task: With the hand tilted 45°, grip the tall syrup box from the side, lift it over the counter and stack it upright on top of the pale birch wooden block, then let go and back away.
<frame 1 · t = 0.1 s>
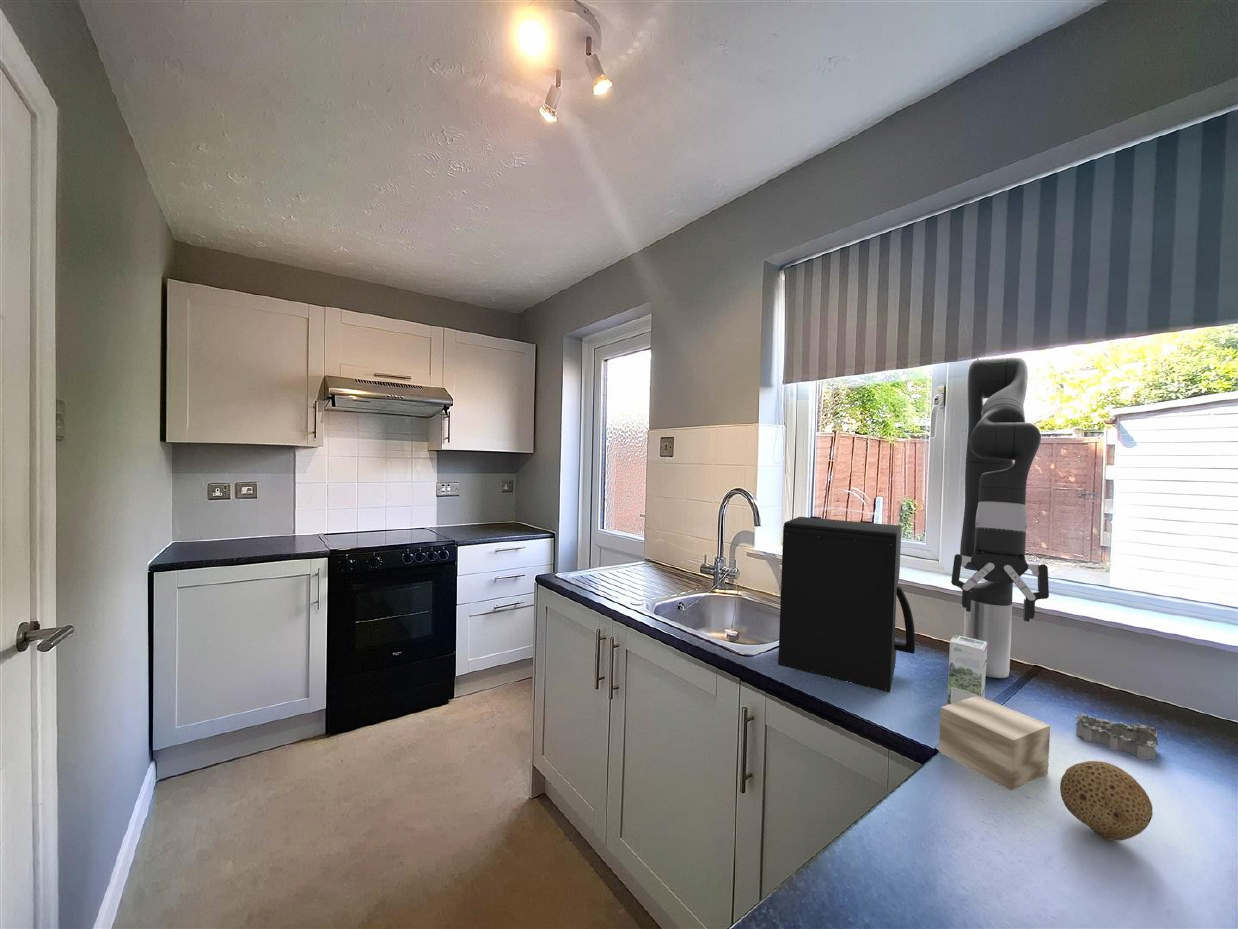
hand: (996, 615, 92), 22 cm above the worktop, tool pointing down, fingers open, 8 cm apart
syrup box: (965, 712, 101), on the worktop
egg carton: (1114, 745, 91), on the worktop
coffee maker: (846, 667, 122), on the worktop
wooden block: (991, 762, 84), on the worktop
natural sponge: (1101, 838, 68), on the worktop
cracker box: (850, 631, 147), on the worktop
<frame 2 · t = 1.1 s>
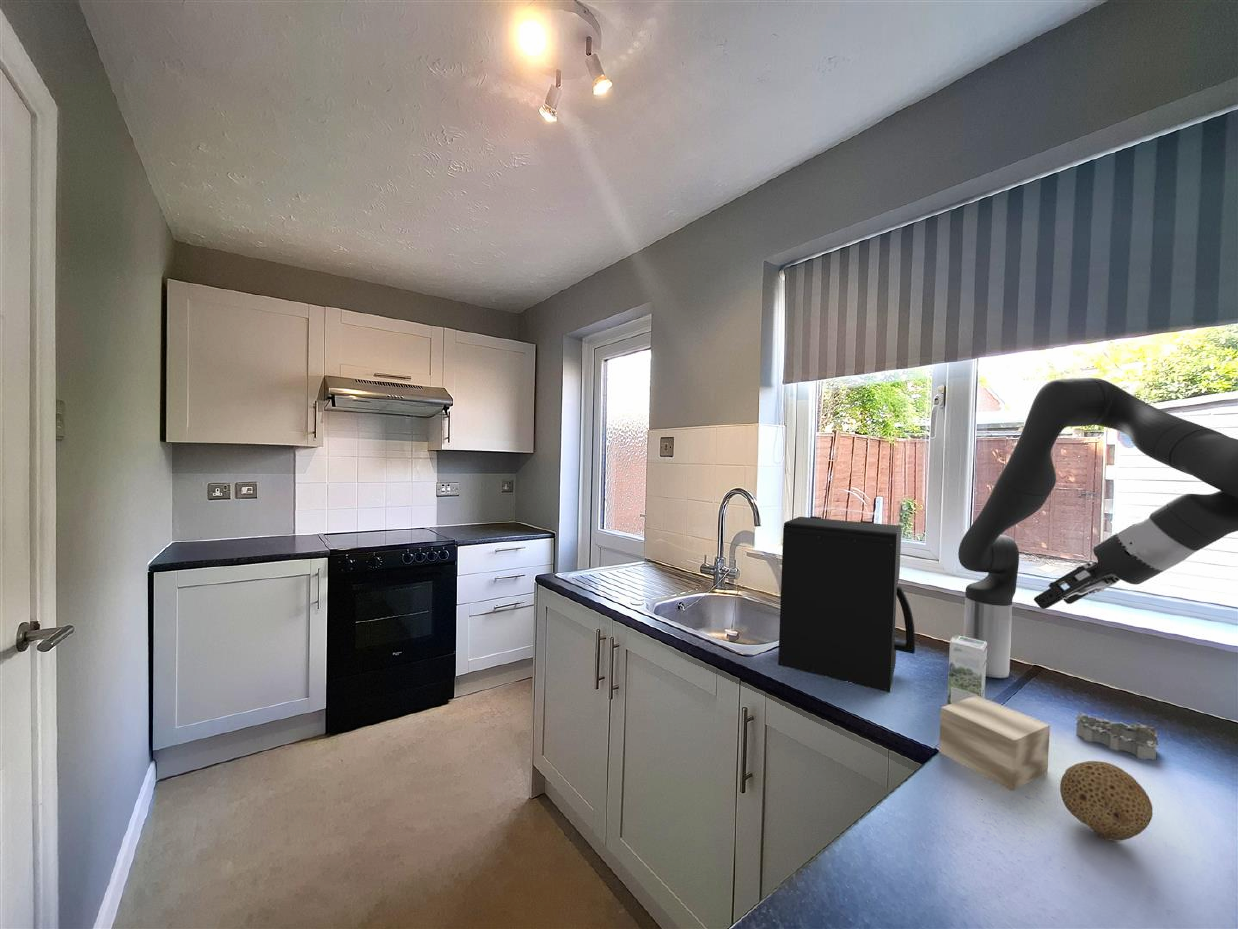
hand: (1051, 601, 89), 26 cm above the worktop, tool tilted 45°, fingers open, 8 cm apart
nothing on the worktop moved.
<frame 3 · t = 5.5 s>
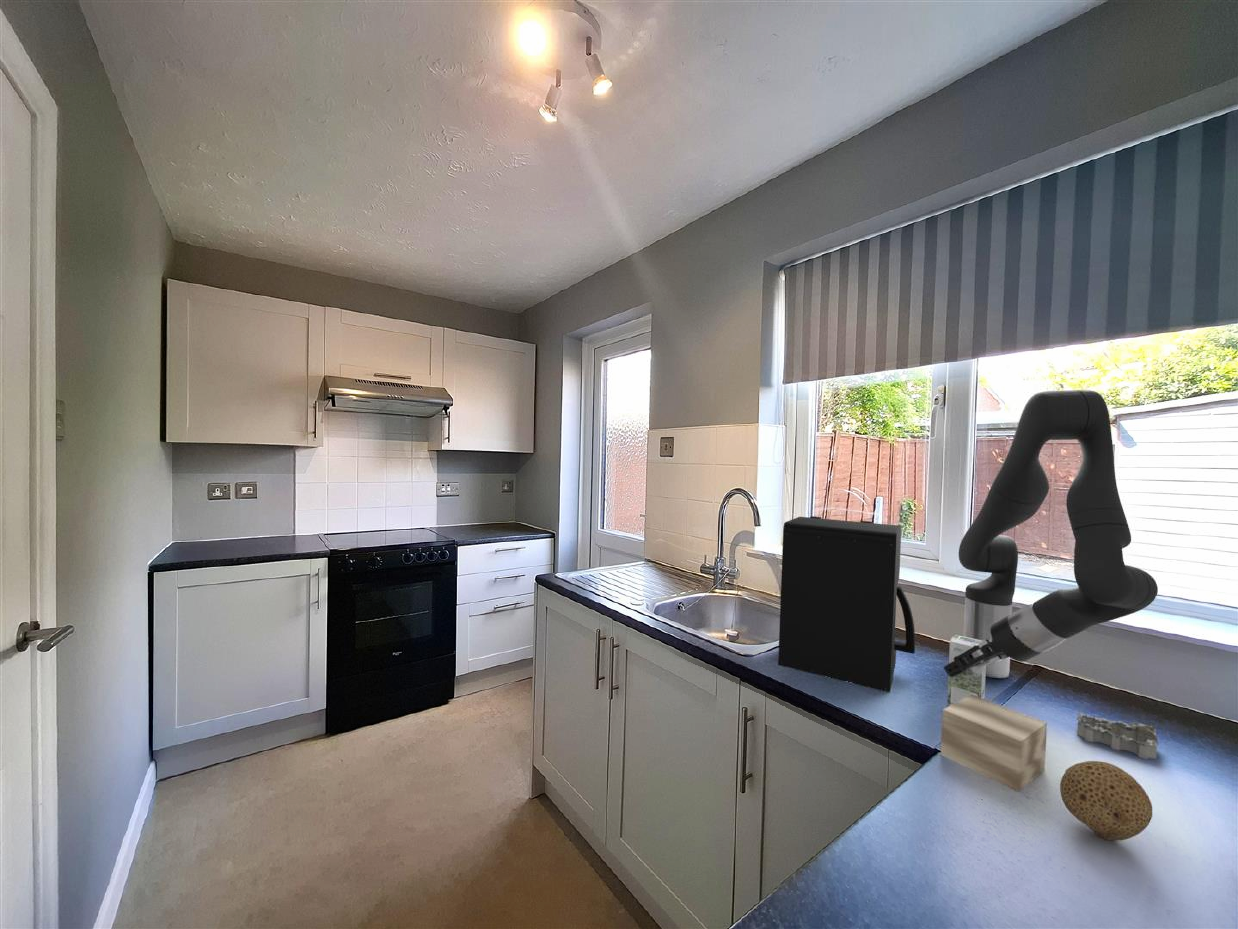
hand: (959, 669, 103), 8 cm above the worktop, tool tilted 45°, fingers closed on syrup box, 7 cm apart
syrup box: (965, 712, 101), on the worktop, touching gripper
everything else where it was.
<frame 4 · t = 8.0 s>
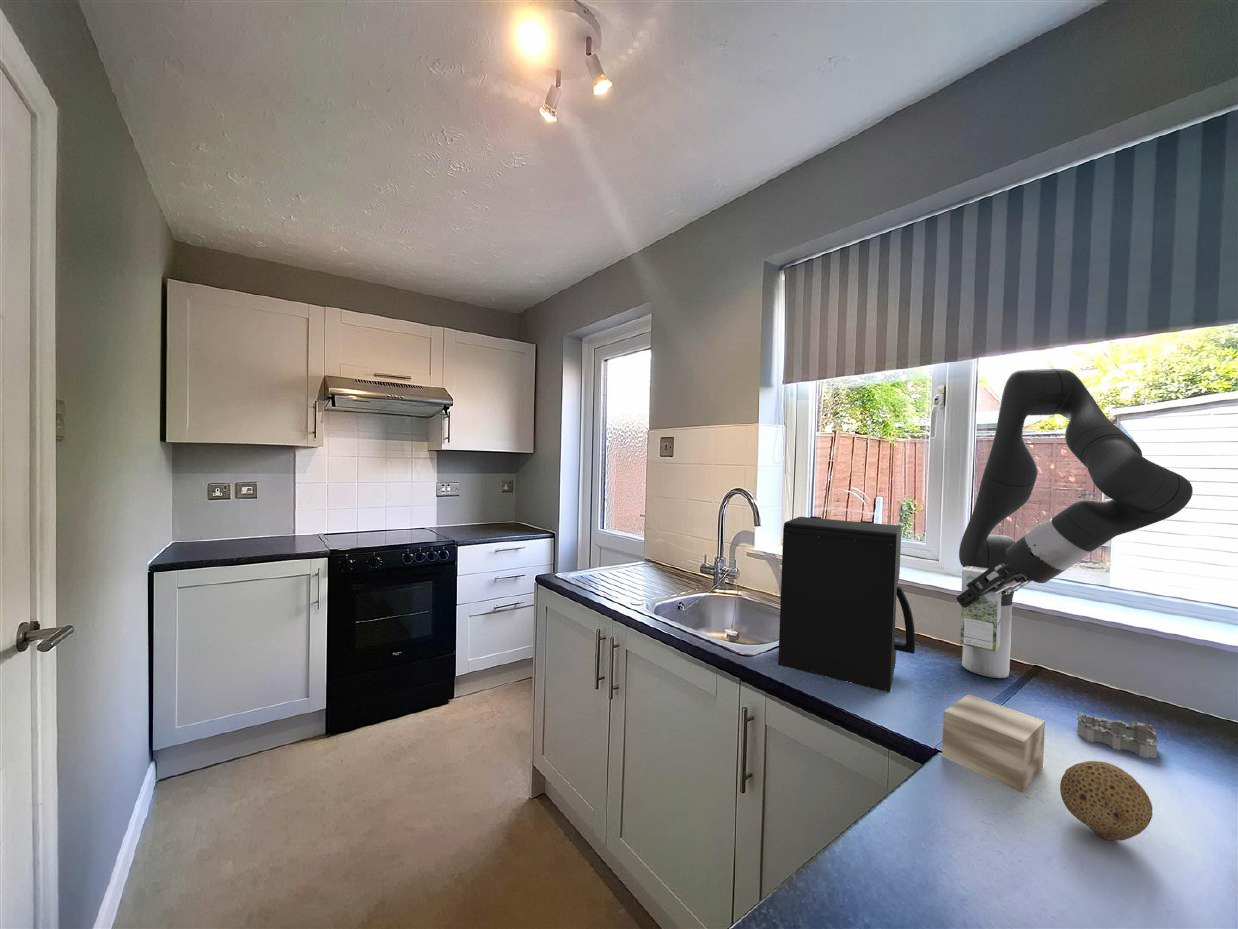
hand: (972, 601, 96), 24 cm above the worktop, tool tilted 45°, fingers closed on syrup box, 7 cm apart
syrup box: (979, 646, 94), point 16 cm above the worktop, touching gripper
everything else where it was.
when the fingers open (17 cm above the worktop, at t = 10.8 s): syrup box drops 1 cm, point 8 cm above the worktop.
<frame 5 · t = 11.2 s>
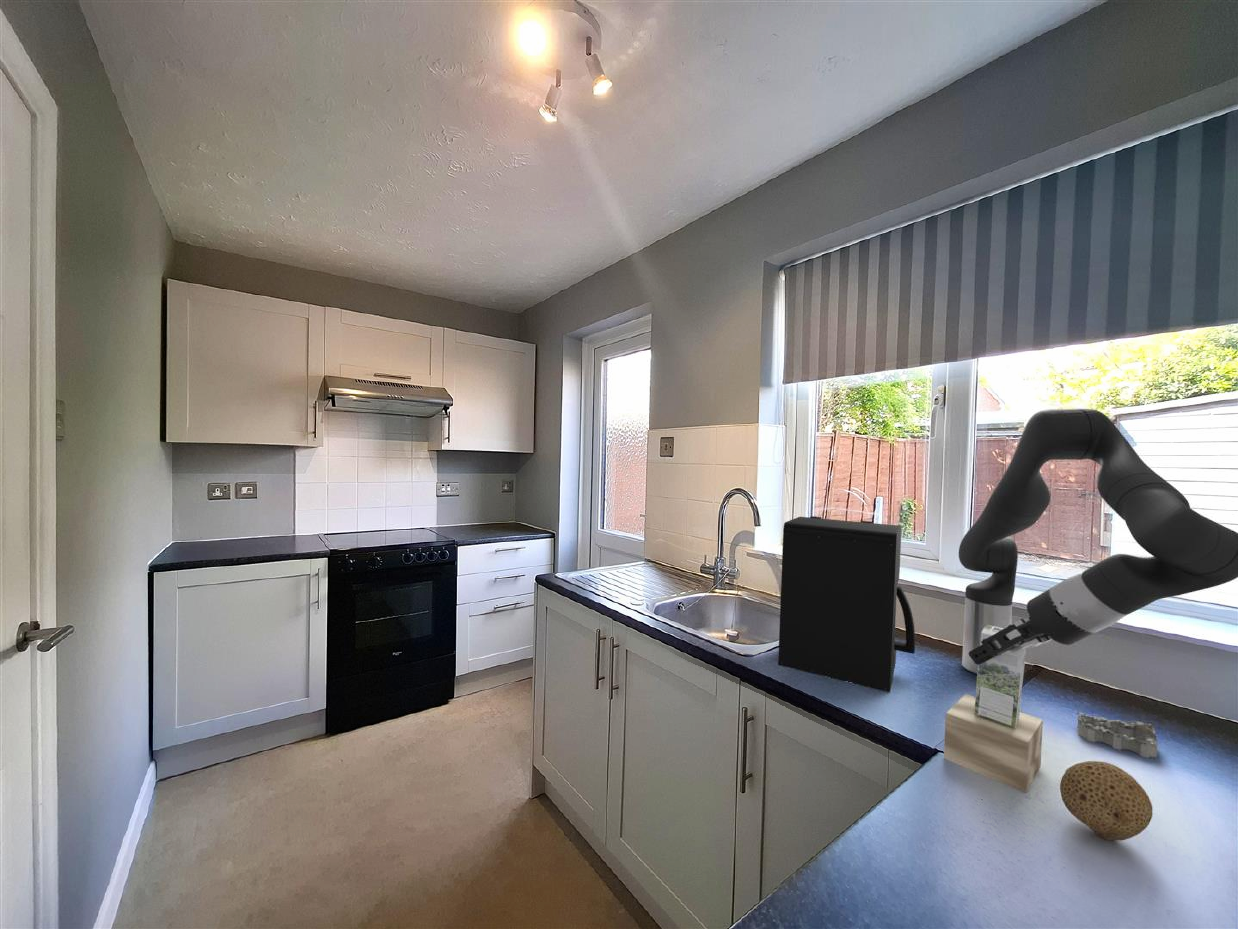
hand: (987, 655, 85), 18 cm above the worktop, tool tilted 45°, fingers open, 8 cm apart
syrup box: (996, 717, 84), point 8 cm above the worktop
everything else where it was.
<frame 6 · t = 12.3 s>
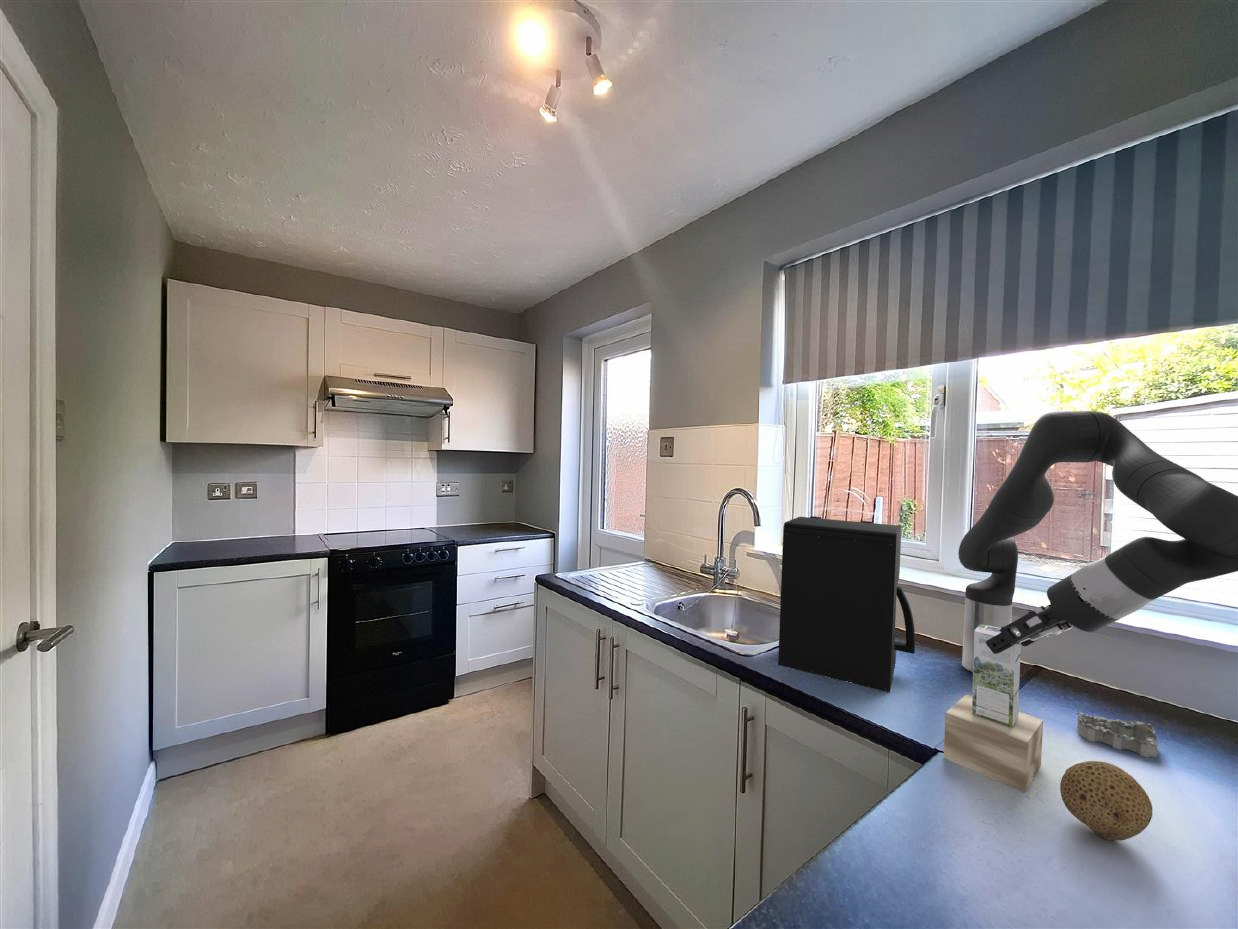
hand: (1005, 644, 83), 20 cm above the worktop, tool tilted 45°, fingers open, 8 cm apart
syrup box: (995, 716, 84), point 8 cm above the worktop, touching wooden block
wooden block: (991, 762, 85), on the worktop, touching syrup box
everything else where it was.
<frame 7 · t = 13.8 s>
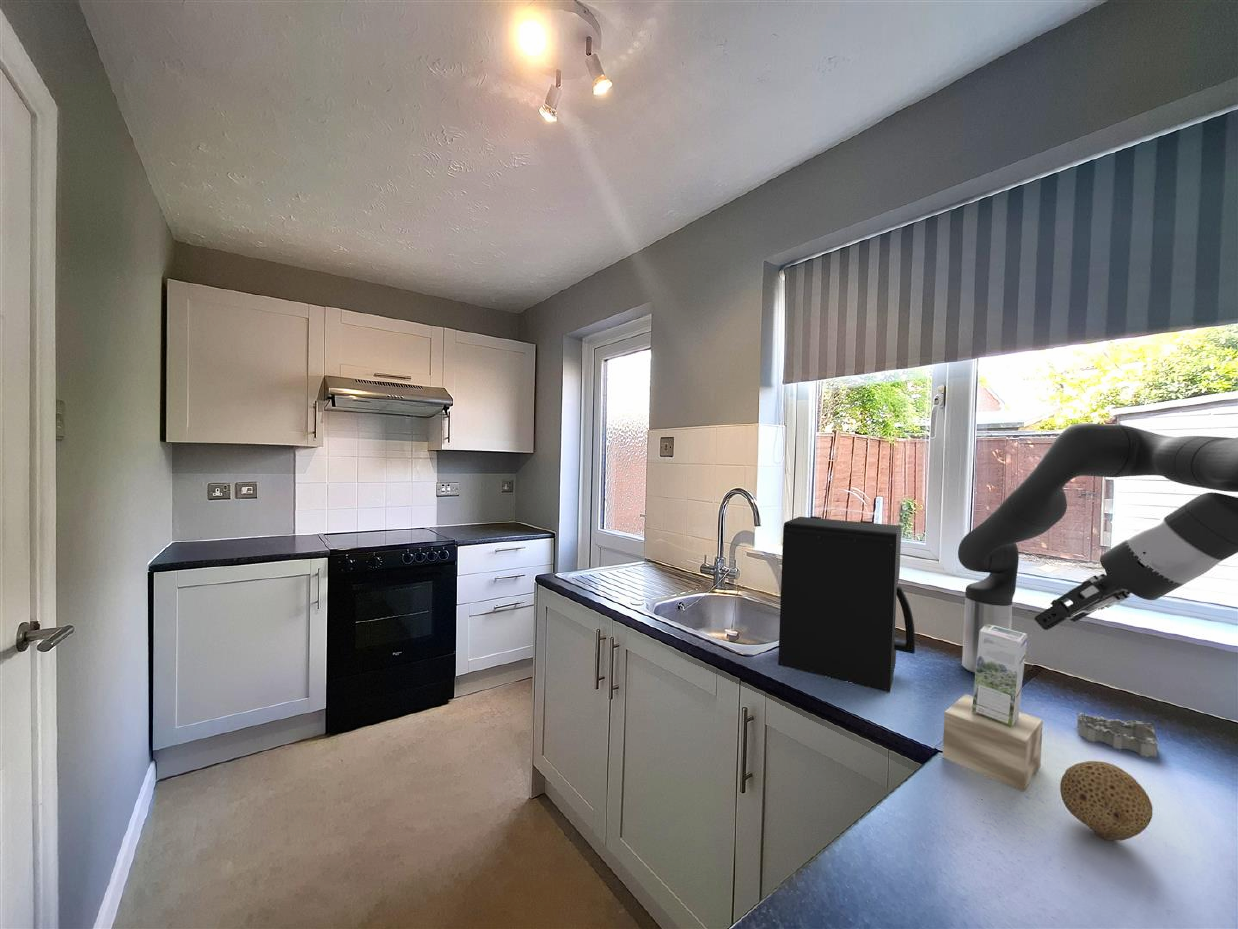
hand: (1054, 620, 77), 26 cm above the worktop, tool tilted 45°, fingers open, 8 cm apart
nothing on the worktop moved.
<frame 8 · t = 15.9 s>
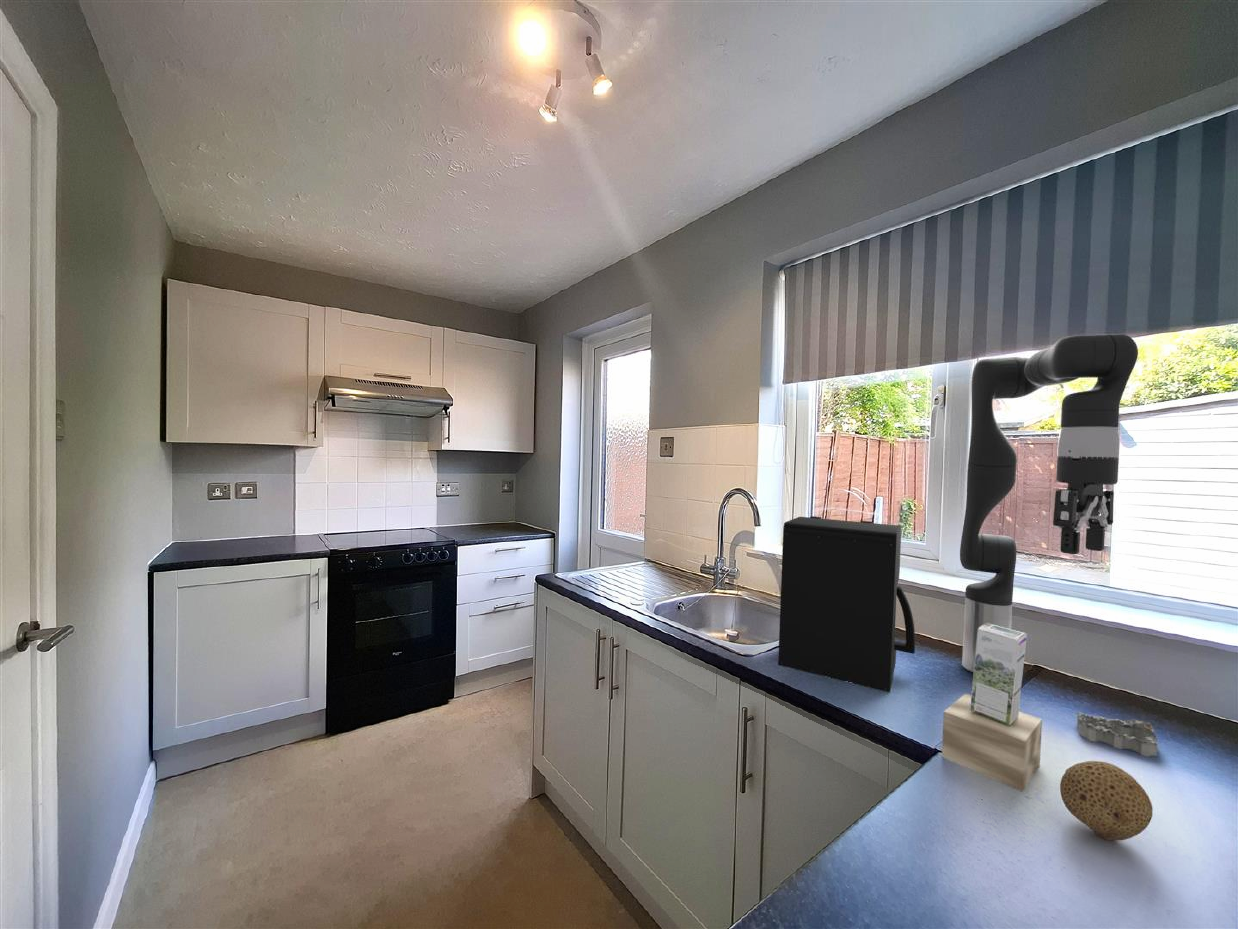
hand: (1082, 551, 84), 36 cm above the worktop, tool pointing down, fingers open, 8 cm apart
at the end: syrup box 0.5 cm off-centre on the wooden block, point 7.9 cm above the wooden block's base; syrup box tilted 2°; the gripper is holding nothing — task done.
